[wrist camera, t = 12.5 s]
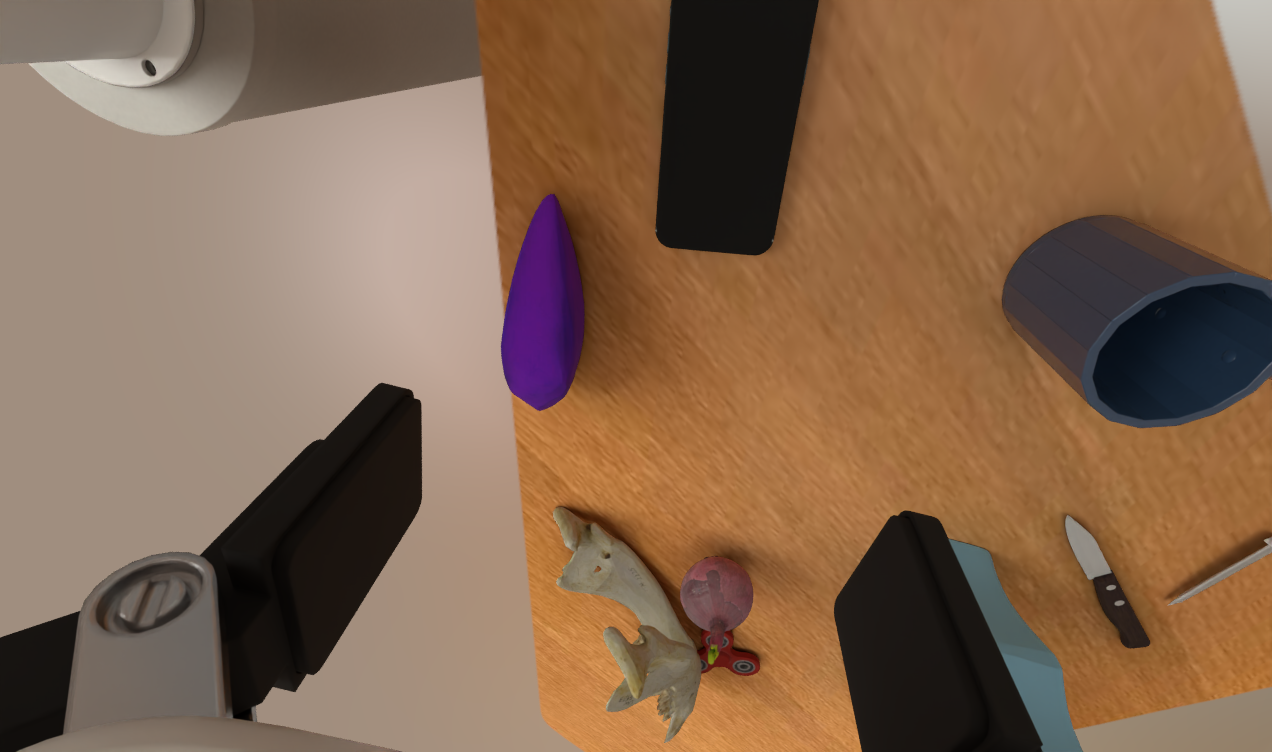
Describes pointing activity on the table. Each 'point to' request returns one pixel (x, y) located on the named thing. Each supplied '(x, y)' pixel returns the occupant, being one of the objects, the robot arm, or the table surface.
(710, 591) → the vegetable
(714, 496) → the table surface
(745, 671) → the fidget spinner
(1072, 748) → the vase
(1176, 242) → the mug
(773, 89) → the smartphone
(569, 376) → the purple eggplant
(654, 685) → the jawbone
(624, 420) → the table surface
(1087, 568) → the kitchen knife
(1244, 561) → the knife
